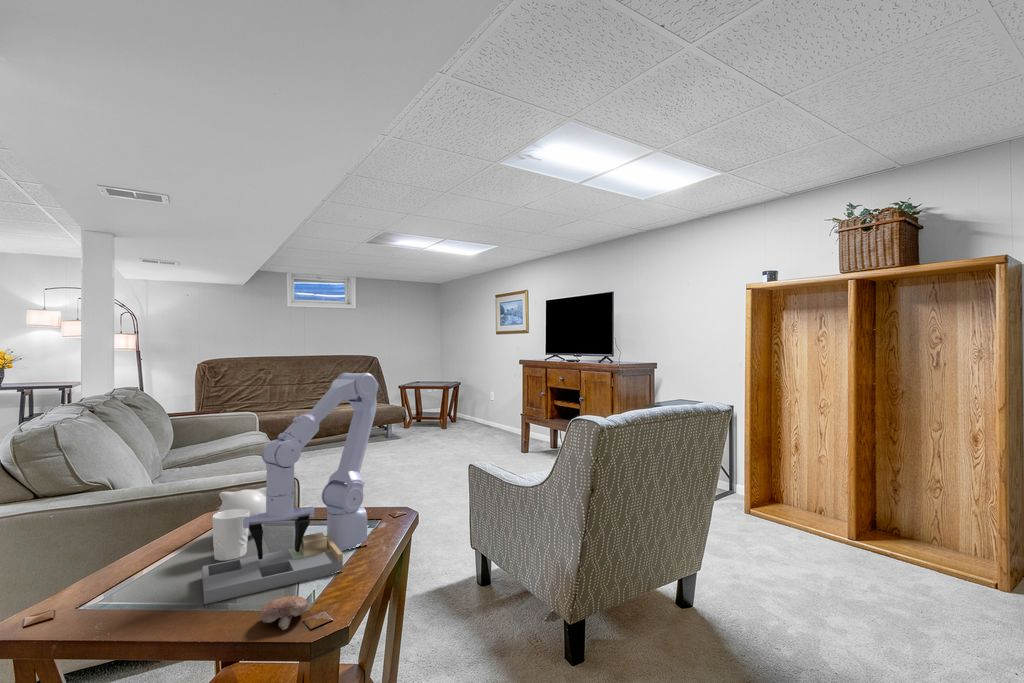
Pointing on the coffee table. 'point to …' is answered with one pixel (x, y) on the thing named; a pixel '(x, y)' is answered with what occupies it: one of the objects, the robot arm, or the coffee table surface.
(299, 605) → the mushroom
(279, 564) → the board
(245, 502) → the cat head
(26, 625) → the coffee table surface
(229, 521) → the white cup
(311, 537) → the maple block
